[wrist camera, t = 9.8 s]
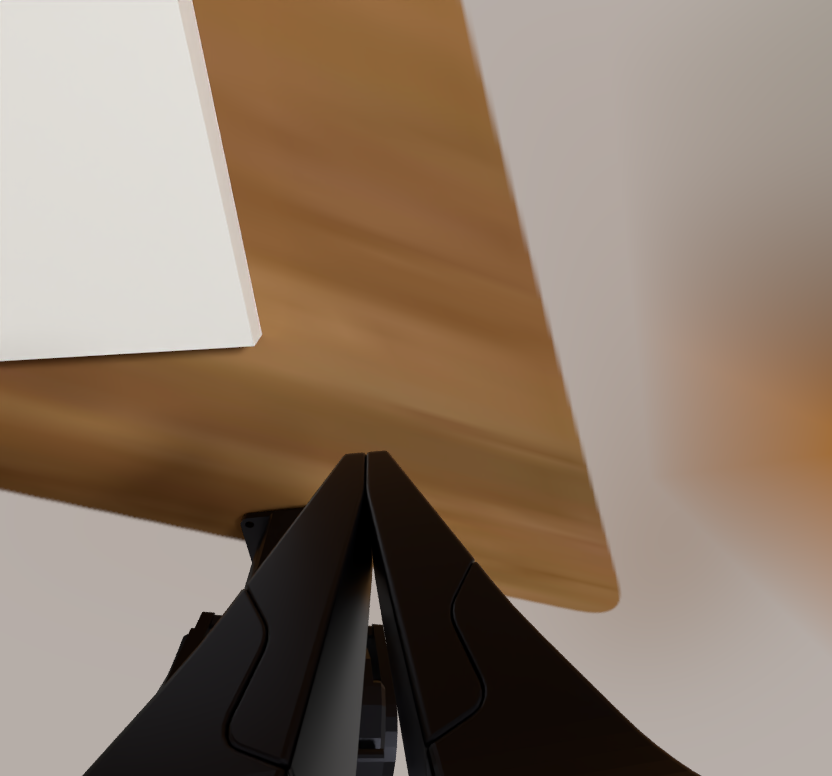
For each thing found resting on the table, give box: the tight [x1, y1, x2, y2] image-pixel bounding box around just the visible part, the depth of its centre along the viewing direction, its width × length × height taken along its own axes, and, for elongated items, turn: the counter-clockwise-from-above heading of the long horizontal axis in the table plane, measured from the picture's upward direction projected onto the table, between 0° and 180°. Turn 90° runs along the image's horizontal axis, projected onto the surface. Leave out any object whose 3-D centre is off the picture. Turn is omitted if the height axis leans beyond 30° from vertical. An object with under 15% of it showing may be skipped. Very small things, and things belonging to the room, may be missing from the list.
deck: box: [0, 0, 262, 361], centre depth 13 cm, size 18×11×2 cm, turn 1°
